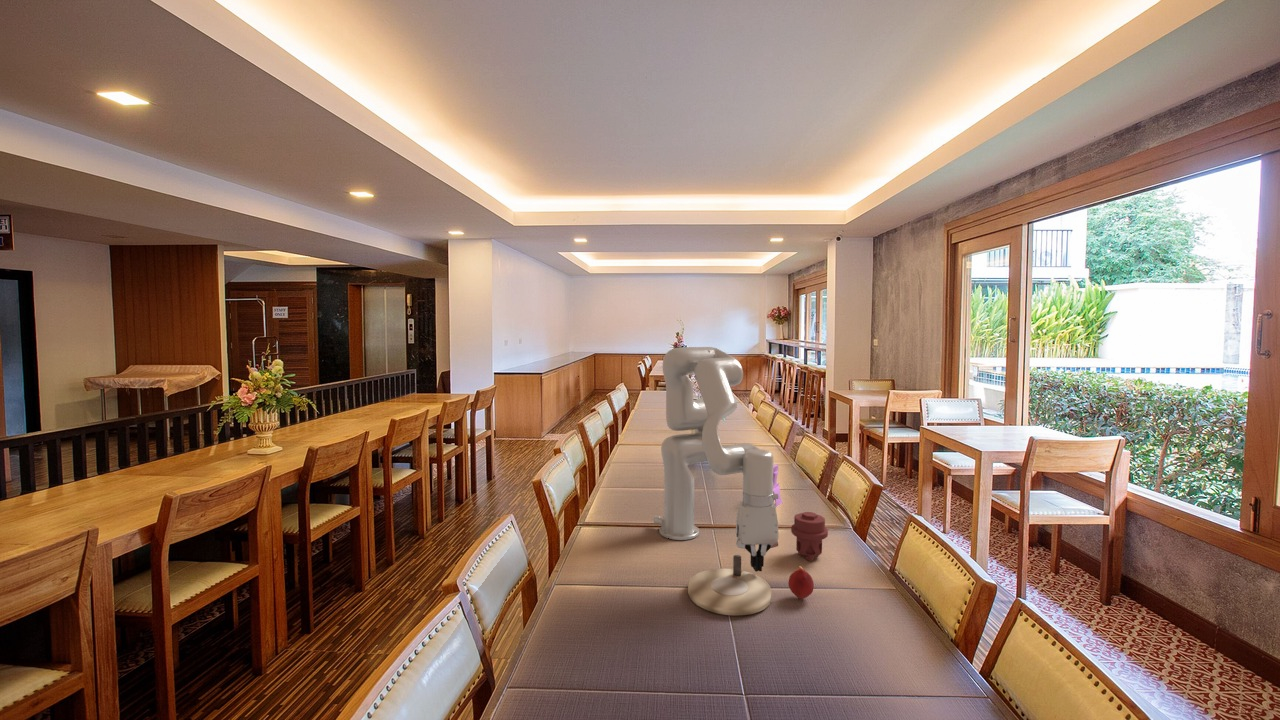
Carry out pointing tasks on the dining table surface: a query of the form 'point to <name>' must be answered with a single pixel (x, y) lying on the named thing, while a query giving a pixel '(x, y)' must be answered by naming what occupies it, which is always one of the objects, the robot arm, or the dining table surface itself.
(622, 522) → the dining table surface
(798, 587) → the onion
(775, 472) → the toy chair
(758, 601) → the turntable
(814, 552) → the mechanical component
